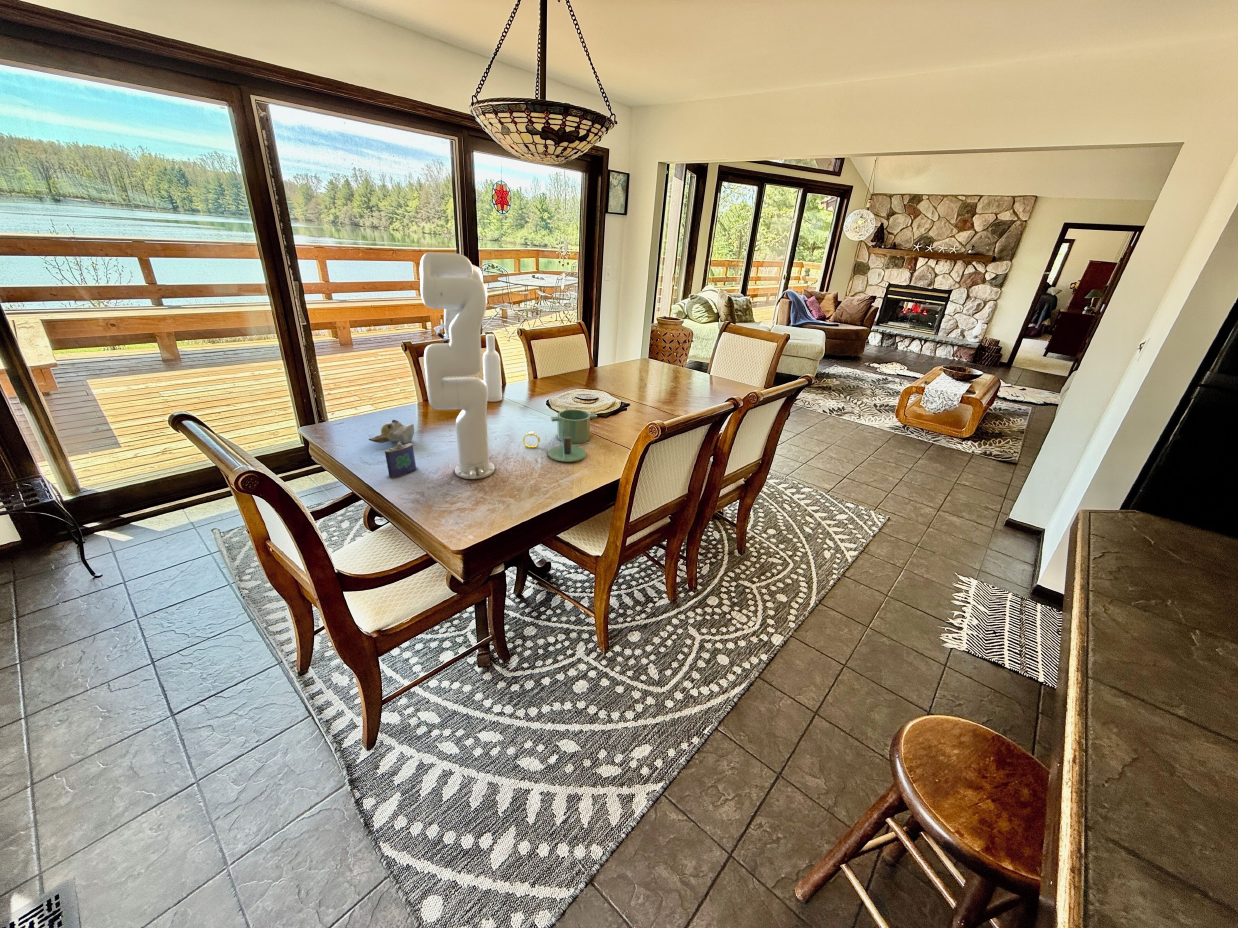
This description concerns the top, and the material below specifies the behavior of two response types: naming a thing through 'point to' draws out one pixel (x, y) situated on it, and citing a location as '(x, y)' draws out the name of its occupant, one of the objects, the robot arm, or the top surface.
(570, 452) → the lid
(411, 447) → the flask
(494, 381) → the bottle
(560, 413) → the pot
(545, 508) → the top surface
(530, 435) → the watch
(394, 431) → the ceramic sculpture
